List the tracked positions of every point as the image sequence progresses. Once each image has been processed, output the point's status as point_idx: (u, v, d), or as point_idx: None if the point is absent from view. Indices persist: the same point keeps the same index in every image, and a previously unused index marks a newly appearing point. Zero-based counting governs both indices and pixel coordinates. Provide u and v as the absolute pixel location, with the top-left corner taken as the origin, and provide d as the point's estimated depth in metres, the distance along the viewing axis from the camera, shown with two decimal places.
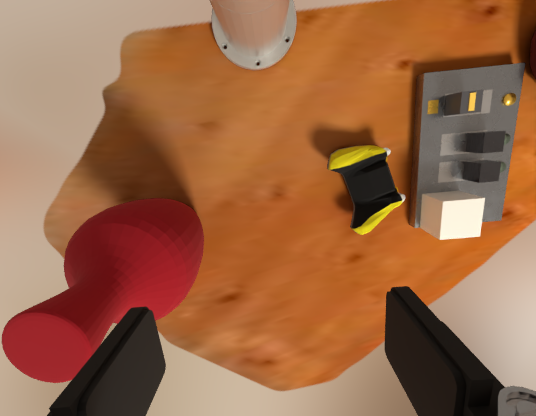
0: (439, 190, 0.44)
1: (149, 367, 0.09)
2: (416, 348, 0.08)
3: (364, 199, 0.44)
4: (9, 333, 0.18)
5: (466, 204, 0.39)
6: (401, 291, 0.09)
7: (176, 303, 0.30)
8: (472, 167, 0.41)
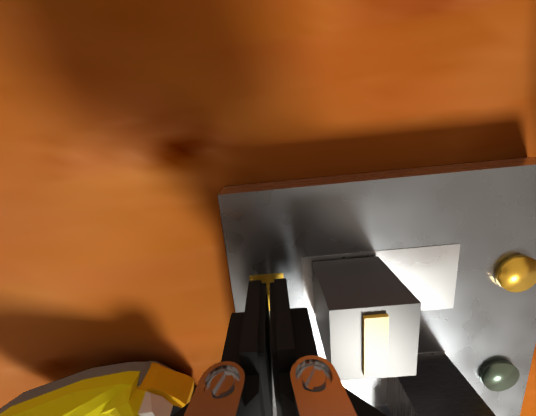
0: None
1: (269, 333, 0.10)
2: None
3: None
4: None
5: None
6: (277, 282, 0.10)
7: None
8: None
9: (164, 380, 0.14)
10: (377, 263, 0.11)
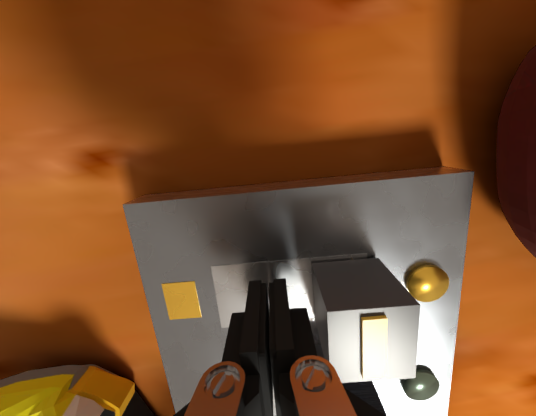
0: None
1: None
2: None
3: None
4: None
5: None
6: (277, 282, 0.10)
7: None
8: None
9: (98, 384, 0.14)
10: (377, 265, 0.11)
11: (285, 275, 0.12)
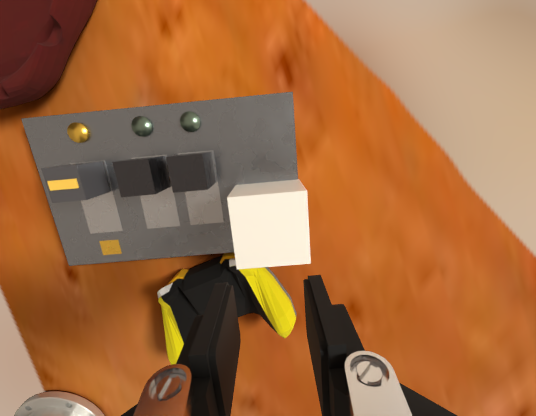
0: None
1: (234, 335, 0.10)
2: (311, 326, 0.09)
3: (242, 305, 0.28)
4: None
5: (240, 228, 0.21)
6: (312, 279, 0.10)
7: None
8: None
9: (168, 284, 0.29)
10: None
11: (89, 201, 0.26)
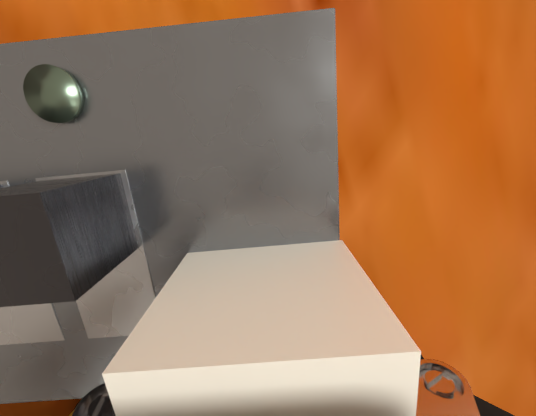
0: None
1: None
2: None
3: None
4: None
5: None
6: None
7: None
8: None
9: None
10: None
11: None
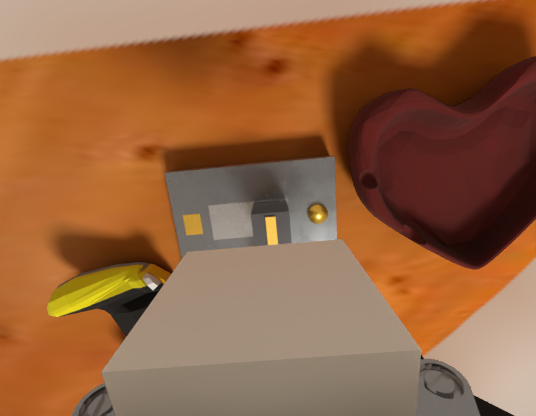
0: None
1: None
2: None
3: None
4: None
5: None
6: None
7: None
8: None
9: (156, 270, 0.26)
10: (283, 202, 0.23)
11: (246, 210, 0.24)
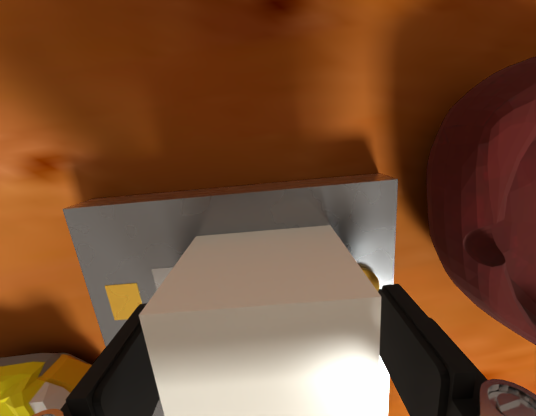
0: None
1: None
2: (405, 344, 0.08)
3: None
4: None
5: (186, 392, 0.07)
6: (392, 288, 0.09)
7: None
8: None
9: (69, 371, 0.15)
10: None
11: None
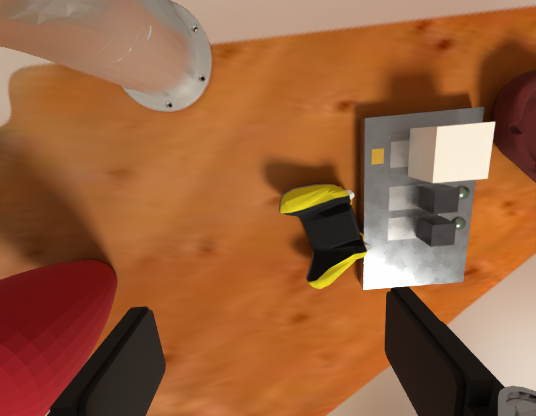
0: (390, 248, 0.38)
1: (149, 367, 0.09)
2: (416, 348, 0.08)
3: (324, 246, 0.37)
4: None
5: (442, 151, 0.29)
6: (401, 291, 0.09)
7: None
8: (424, 226, 0.35)
9: None
10: None
11: None
